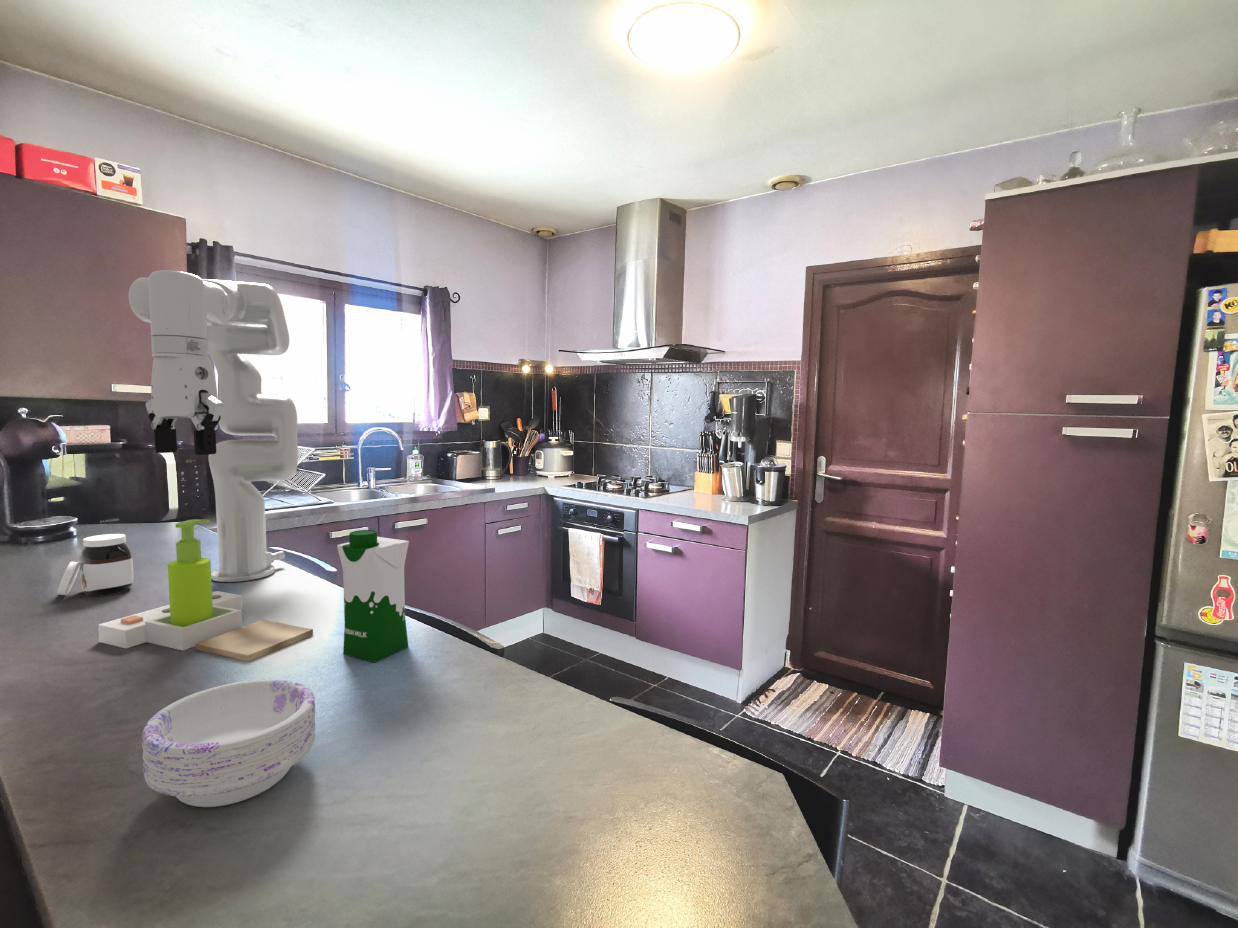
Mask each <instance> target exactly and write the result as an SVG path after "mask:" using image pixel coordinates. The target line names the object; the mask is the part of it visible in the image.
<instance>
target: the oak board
mask: <svg viewBox="0 0 1238 928" xmlns="http://www.w3.org/2000/svg"><path fill="white" fill-rule="evenodd" d="M312 636H314V630H313V628H308V627H304V626H297V625H293V624H287V623H284V622H277V621H272V620H271V621H270V620H267V619H261V620H258V621H255V622H253V623H250V624H247V625H244V626H242V627H241V628H238V629H235V630H233V631H230V632H227V633H224V634H221V635H218V636H216V637H213V638H210V639H207V640H204V641H201V642H199V643H196V644H195V646H194V648H195V650H196V651H200V652H205V653H209V654H214V655H218V656H221V657H227V658H231V659H235V660H240V661H244V662H251V661H253V660H256V659H258V658H261V657H262V656H265V655H268V654H270V653H273V652H275V651H278V650H279V649H282V648H284V647H287V646H290V645H292V644H294V643H296V642H299V641H301V640H304V639H306V638H308V637H312Z"/></svg>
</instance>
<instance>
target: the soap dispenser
mask: <svg viewBox="0 0 1238 928" xmlns="http://www.w3.org/2000/svg"><path fill="white" fill-rule="evenodd" d="M209 523H211V520H210V519H198V518H197V519H196V518H194V519H187V520H185V521H180V522H178V523H175V524H174V526H175V528H177V529H178V528H181V529H180V531H181V539H180V540H178V541H176V542H175V552H176V556H175V557H176V559H175V560H173V561H171V562H169V563H168V564H167V579H168V581H167V582H168V596H169V604H170V618H171V625H175V626H180V627H186V626H189V625H192V624H195V623H198V622H201V621H204V620H208V619H211V618H213V603H212V592H213V589H212V588H213V587H212V583H213V582H212V579H211V573H212V568H211V565H212V564H211V559H210V558H209V557H208V558H207V557H202V546H201V545H202V543H201V540H200V539H198V538H196V537H195V527H194V526H196V525H200V524H209Z"/></svg>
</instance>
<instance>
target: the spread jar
mask: <svg viewBox="0 0 1238 928" xmlns="http://www.w3.org/2000/svg"><path fill="white" fill-rule="evenodd" d="M126 541H127V537H126V534H124V533H109V534H108V533H107V534H98V535H92V536H87V537H85V538H83V539H82V544H83V548H82V550H81V552H80V554H79V558H78V559H79V561H70V562H69V563H68V566H67V567H66V569H65V571H64V572H63V575H62V577H61V579H60V583H59V585H58V588H57V595H60V596H61V595H62V596H68V594H69V593H70V591H71V589H72V588H73V585H74V583H75V581H76V579H77V575H78V573H79V575H80V584H81V589H82V591H83V593H84V594H85V595H86V596H89V595H90V596H89V597H100V595H103V596H109V594H111V595H115V593H116V594H119V593H118V592H120V593H123V592H126V591H128V590H130V589H131V588H132V586H133V584H134V563H133V555H132V552H131V549H130V548H129V546H128V545H127V543H126ZM125 590H126V591H125Z"/></svg>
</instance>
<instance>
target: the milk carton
mask: <svg viewBox="0 0 1238 928" xmlns="http://www.w3.org/2000/svg"><path fill="white" fill-rule="evenodd" d="M348 535H349V539H348V540H349V542H344V543H341V544H340V543H339V544H338V545H337V547H336V548H337V553H338V556H339V559H340V564H341V568H342V576H343V577H342V578H343V609H344V611H343V614H344V627H343V628H344V631H343V652H342V653H343V655H345V656H348V657H352V658H357V659H360V660H364V661H368V662H371V663H376V662H379V661H381V660H383V659H385V658H387V657H389V656H391V655H393V654H396V653H398V652H399V651H402V650H405V649H406V648H408V647H409V640H408V631H407V623H406V602H405V601H406V599H405V598H406V597H405V595H406V594H405V563H406V558H407V552H408V548H409V544H410V540H405V539H396V538H389V537H383V536H382V537H381V536H378V531H377V530H374V529H361V530H360V529H359V530H354V531H350V532H349V534H348Z"/></svg>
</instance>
